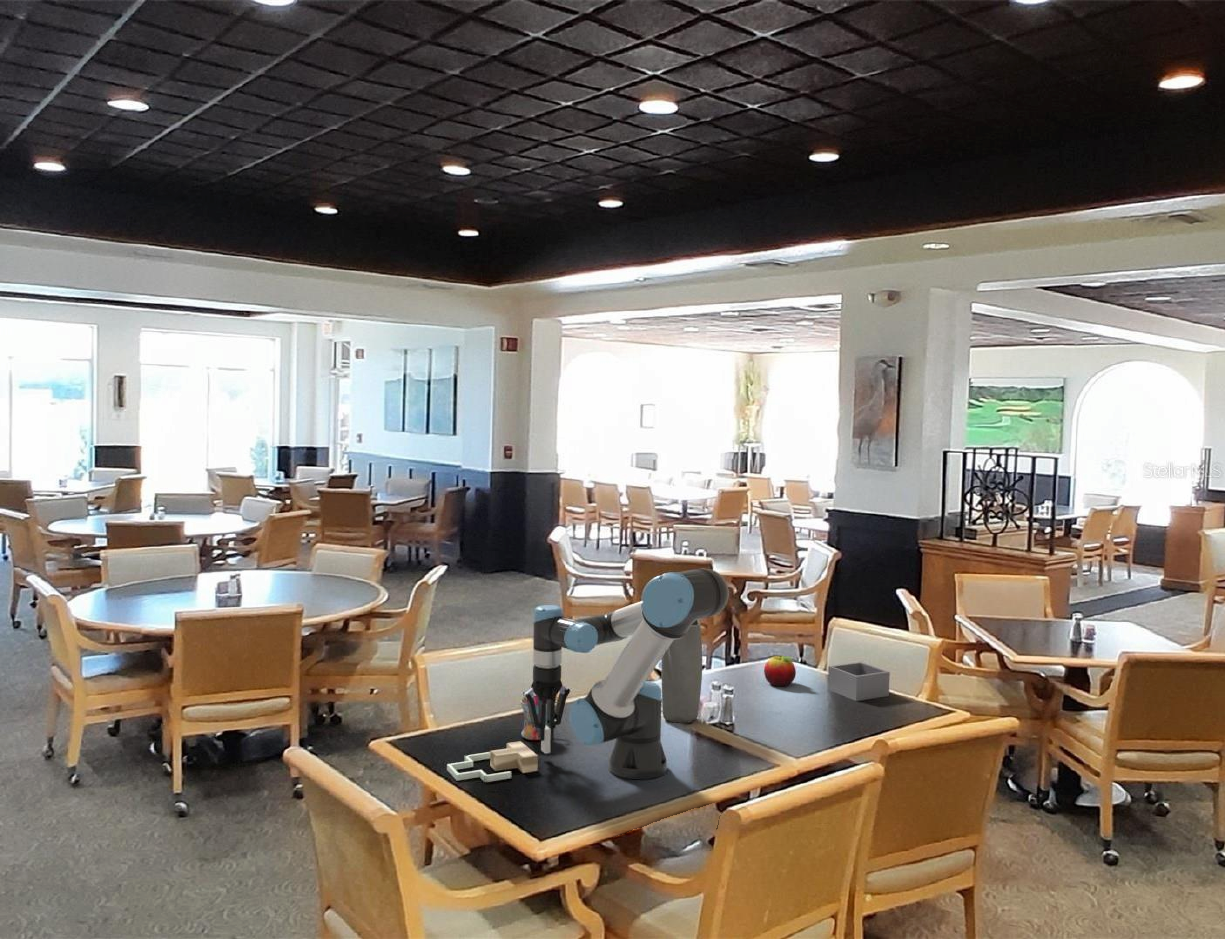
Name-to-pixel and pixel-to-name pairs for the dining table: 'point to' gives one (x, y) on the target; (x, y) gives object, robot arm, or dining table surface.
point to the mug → (529, 729)
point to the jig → (478, 773)
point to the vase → (682, 676)
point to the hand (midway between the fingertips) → (545, 751)
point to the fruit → (780, 671)
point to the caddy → (858, 681)
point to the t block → (514, 758)
